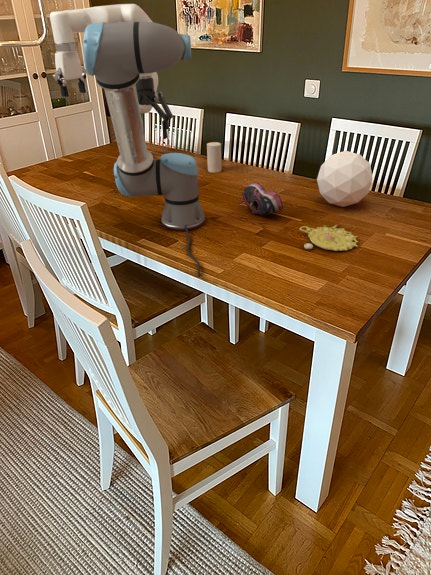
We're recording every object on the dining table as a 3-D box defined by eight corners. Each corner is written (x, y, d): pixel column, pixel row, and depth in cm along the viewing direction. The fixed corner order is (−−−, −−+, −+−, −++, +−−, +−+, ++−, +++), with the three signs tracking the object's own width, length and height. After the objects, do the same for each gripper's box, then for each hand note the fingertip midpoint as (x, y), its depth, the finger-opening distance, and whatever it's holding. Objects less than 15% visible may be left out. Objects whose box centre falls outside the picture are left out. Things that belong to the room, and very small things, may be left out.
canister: (208, 168, 207) (207, 142, 200) (222, 168, 206) (221, 142, 200) (207, 172, 202) (206, 145, 195) (220, 172, 201) (220, 145, 195)
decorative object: (343, 255, 128) (285, 234, 139) (342, 262, 130) (284, 241, 140) (372, 230, 142) (317, 213, 152) (371, 237, 143) (316, 219, 153)
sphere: (348, 225, 166) (362, 196, 147) (303, 198, 170) (311, 167, 152) (373, 189, 171) (391, 157, 152) (328, 164, 175) (340, 130, 156)
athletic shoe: (254, 181, 170) (227, 189, 167) (283, 176, 151) (253, 185, 147) (260, 210, 173) (234, 218, 170) (290, 209, 154) (261, 219, 150)
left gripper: (75, 46, 183) (83, 90, 192) (41, 49, 170) (51, 97, 179) (88, 46, 179) (95, 92, 188) (55, 50, 167) (64, 98, 176)
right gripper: (178, 76, 161) (182, 136, 172) (115, 76, 166) (122, 134, 177) (172, 78, 154) (176, 140, 165) (106, 78, 160) (115, 139, 171)
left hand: (74, 94), depth 184 cm, fingers open, 9 cm apart
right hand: (148, 137), depth 171 cm, fingers open, 13 cm apart
